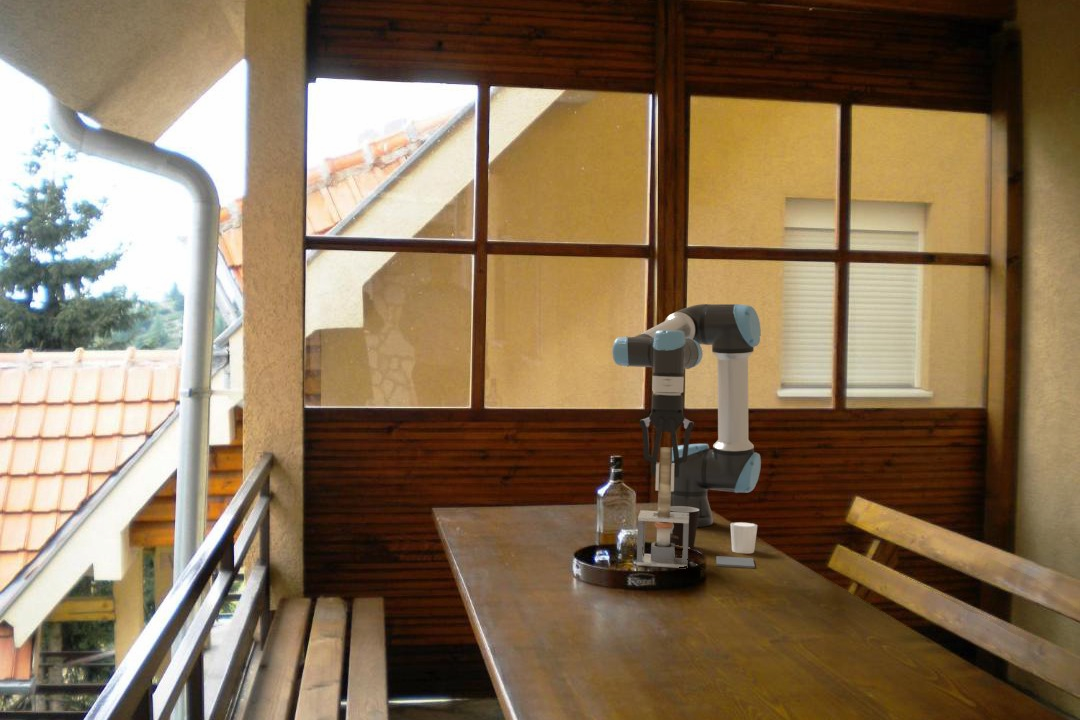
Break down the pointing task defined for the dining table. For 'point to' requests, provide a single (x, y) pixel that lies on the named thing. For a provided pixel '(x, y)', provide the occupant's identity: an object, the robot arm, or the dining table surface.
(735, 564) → the coaster
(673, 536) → the coffee mug
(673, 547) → the frame
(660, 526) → the button
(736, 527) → the white tapered cup
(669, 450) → the dowel
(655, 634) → the dining table surface
